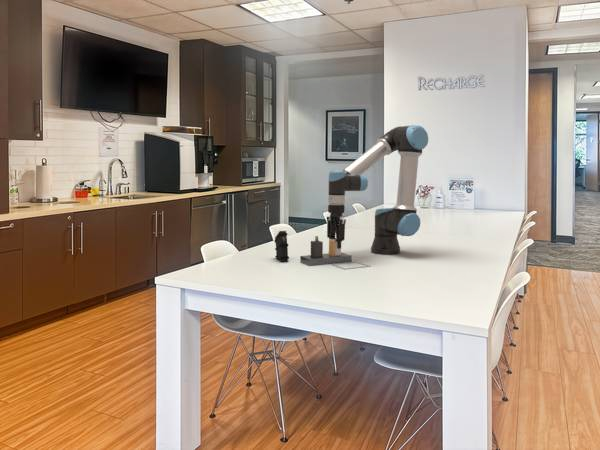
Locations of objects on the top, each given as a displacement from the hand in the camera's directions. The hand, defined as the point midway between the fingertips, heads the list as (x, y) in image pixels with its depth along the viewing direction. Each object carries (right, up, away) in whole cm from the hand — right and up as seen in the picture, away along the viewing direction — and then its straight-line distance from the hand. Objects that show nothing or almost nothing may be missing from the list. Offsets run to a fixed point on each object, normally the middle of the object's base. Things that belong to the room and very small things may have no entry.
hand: (335, 254), depth 240 cm
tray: (+6, -5, -9) cm, 12 cm away
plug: (0, -3, 0) cm, 3 cm away
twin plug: (-9, -4, -4) cm, 10 cm away
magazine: (-25, -4, +4) cm, 26 cm away
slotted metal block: (-4, -4, -2) cm, 6 cm away
